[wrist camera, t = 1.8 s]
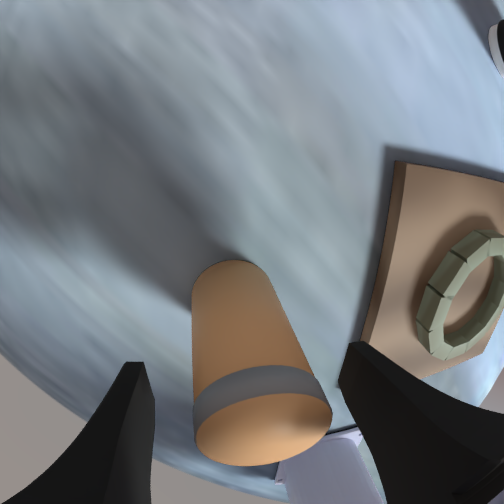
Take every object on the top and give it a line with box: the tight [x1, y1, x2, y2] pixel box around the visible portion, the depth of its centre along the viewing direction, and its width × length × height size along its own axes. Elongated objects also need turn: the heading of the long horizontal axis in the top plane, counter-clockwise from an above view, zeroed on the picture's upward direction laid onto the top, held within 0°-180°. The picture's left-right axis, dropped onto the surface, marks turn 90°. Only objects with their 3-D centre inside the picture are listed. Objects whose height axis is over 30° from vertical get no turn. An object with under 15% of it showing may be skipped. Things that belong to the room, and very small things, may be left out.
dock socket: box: [360, 161, 504, 379], centre depth 17 cm, size 16×16×2 cm
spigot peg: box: [192, 260, 333, 466], centre depth 11 cm, size 4×4×8 cm
